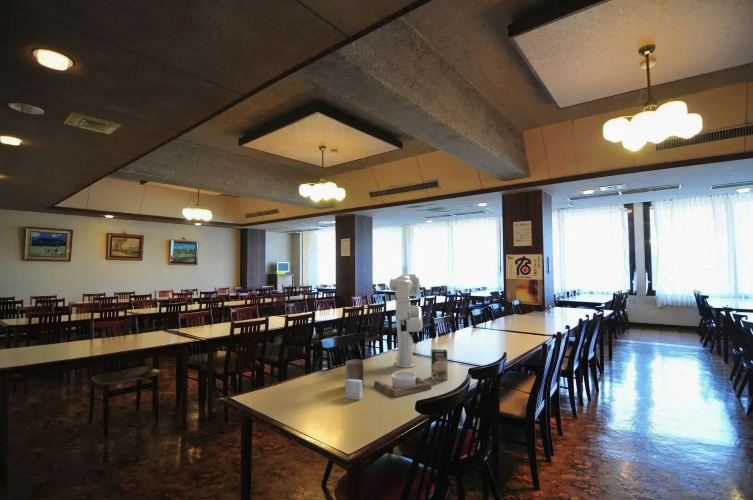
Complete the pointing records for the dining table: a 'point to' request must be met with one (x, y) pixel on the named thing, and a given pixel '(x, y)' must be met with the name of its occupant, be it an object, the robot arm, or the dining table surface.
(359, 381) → the medicine box
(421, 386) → the display stand
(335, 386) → the dining table surface
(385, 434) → the dining table surface
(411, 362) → the robot arm
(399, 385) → the ramekin
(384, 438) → the dining table surface
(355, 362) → the pillar candle
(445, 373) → the coffee box
